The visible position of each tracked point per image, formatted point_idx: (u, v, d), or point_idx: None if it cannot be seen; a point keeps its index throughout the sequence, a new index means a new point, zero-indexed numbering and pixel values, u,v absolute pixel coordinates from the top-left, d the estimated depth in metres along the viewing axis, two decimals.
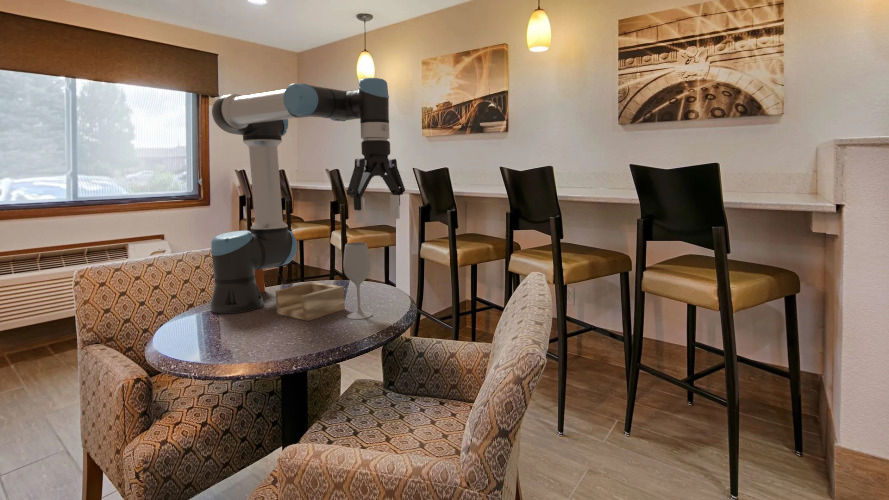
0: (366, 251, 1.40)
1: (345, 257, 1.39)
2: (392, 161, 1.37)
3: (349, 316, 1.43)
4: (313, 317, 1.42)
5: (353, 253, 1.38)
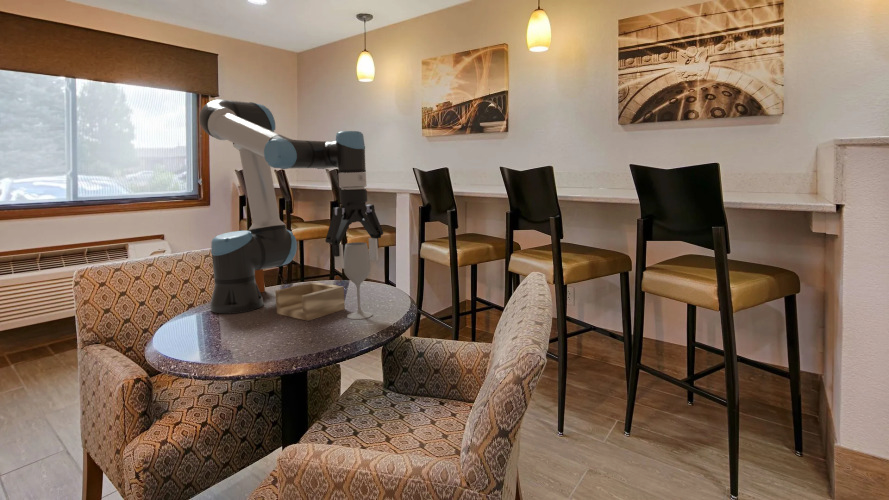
0: (366, 251, 1.40)
1: (345, 257, 1.39)
2: (370, 207, 1.44)
3: (349, 316, 1.43)
4: (313, 317, 1.42)
5: (353, 253, 1.38)
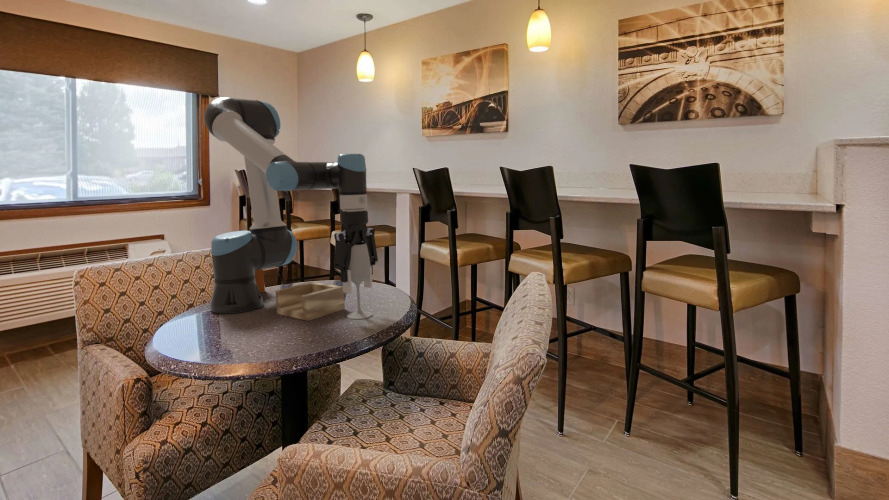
0: (366, 251, 1.40)
1: None
2: (370, 230, 1.45)
3: (349, 316, 1.43)
4: (313, 317, 1.42)
5: (353, 253, 1.38)
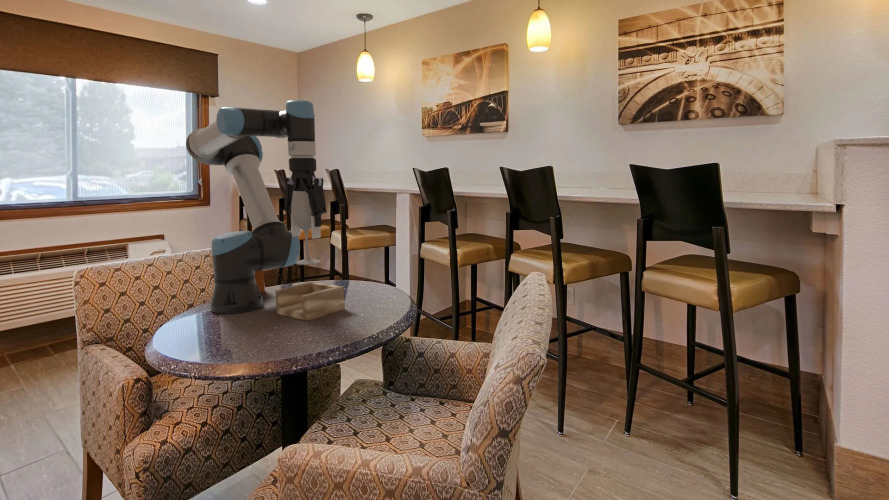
0: (297, 198, 1.41)
1: None
2: None
3: None
4: (313, 317, 1.42)
5: None
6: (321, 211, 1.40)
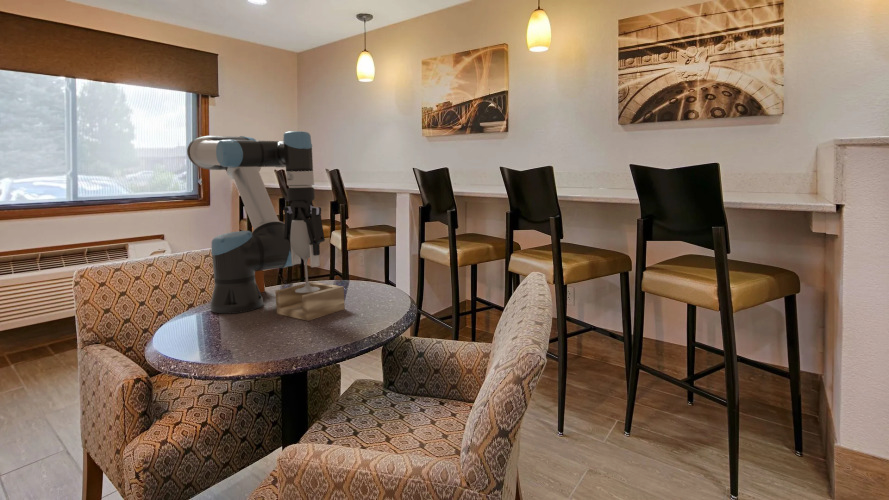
0: (295, 227, 1.42)
1: None
2: None
3: None
4: (313, 317, 1.42)
5: None
6: (319, 240, 1.41)
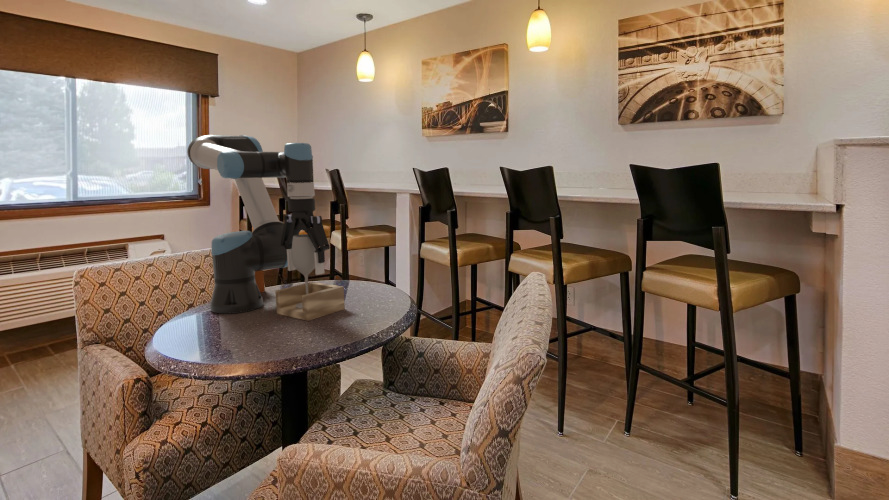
0: (296, 244, 1.43)
1: None
2: None
3: None
4: (313, 317, 1.42)
5: None
6: (324, 248, 1.40)
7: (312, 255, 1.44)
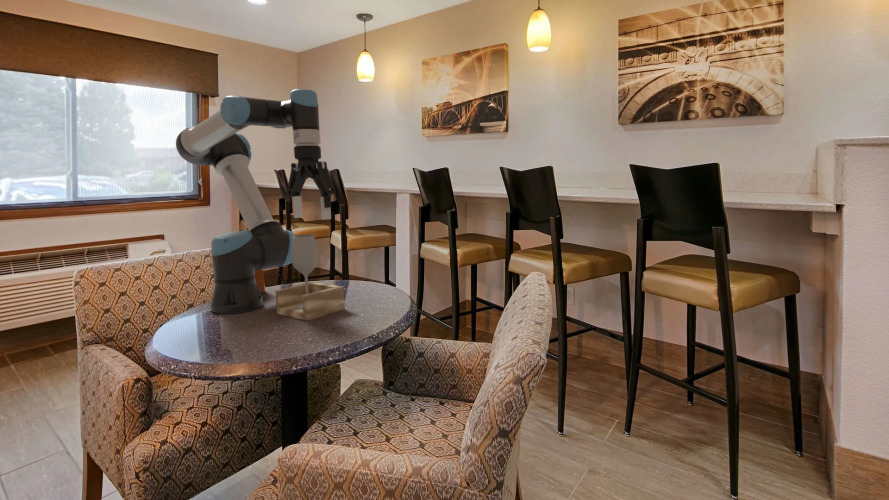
0: (296, 244, 1.43)
1: None
2: None
3: None
4: (313, 317, 1.42)
5: None
6: (330, 191, 1.40)
7: (312, 255, 1.44)
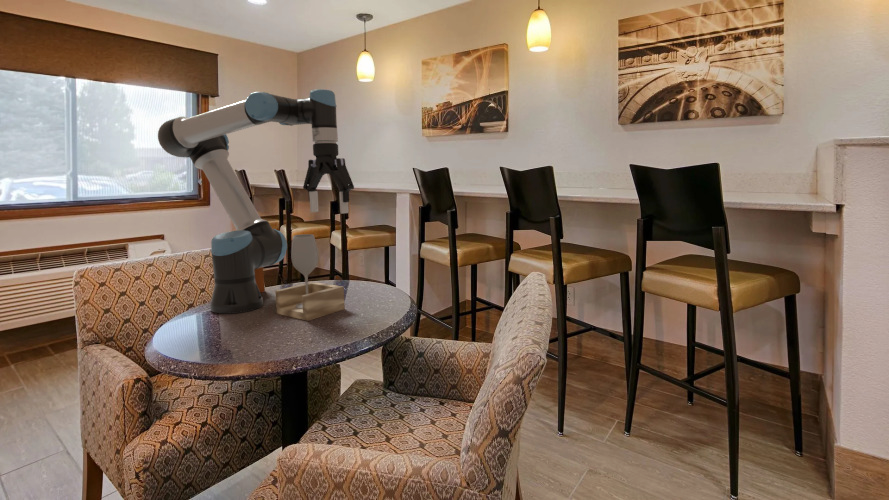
0: (296, 244, 1.43)
1: None
2: None
3: None
4: (313, 317, 1.42)
5: None
6: (349, 187, 1.48)
7: (312, 255, 1.44)
